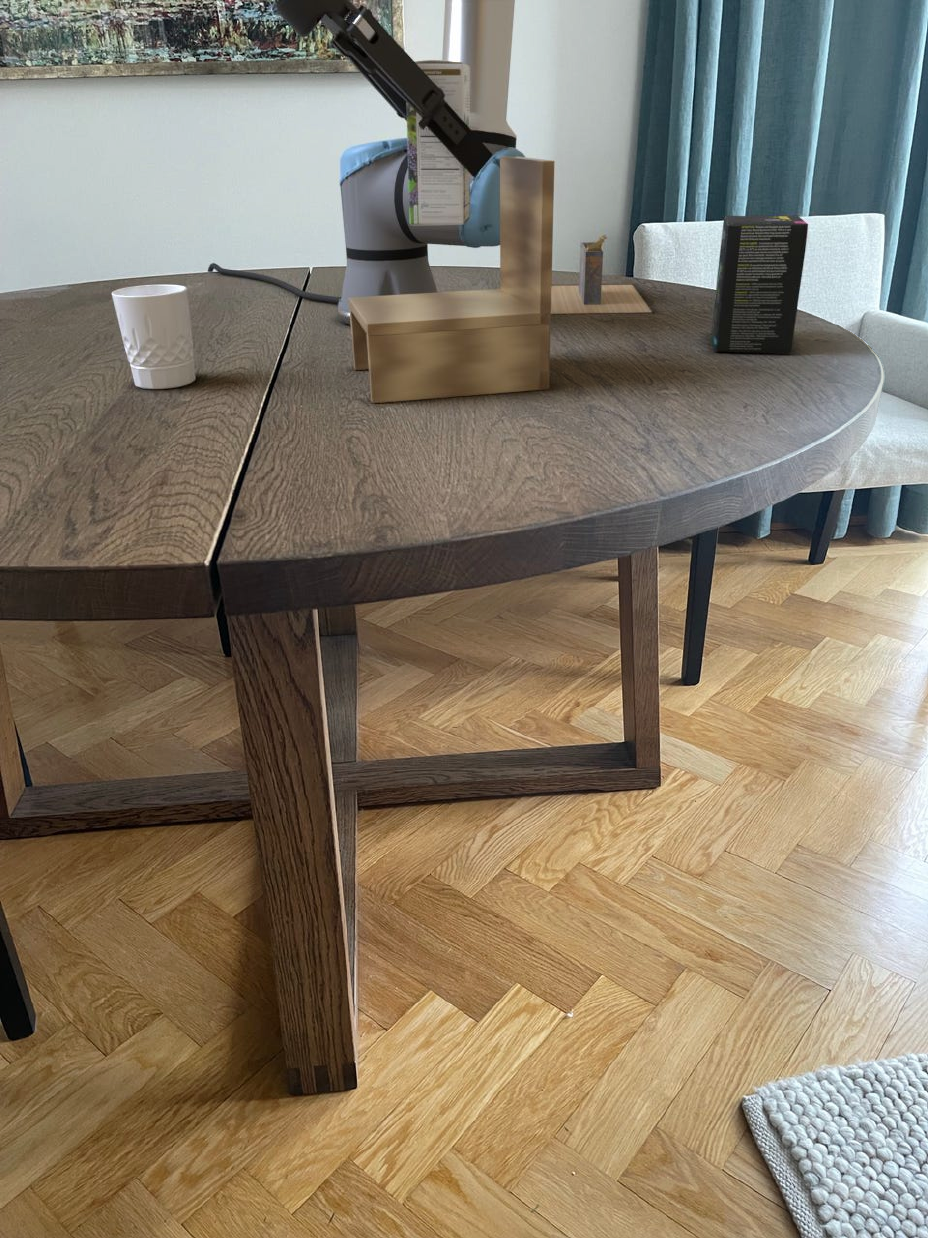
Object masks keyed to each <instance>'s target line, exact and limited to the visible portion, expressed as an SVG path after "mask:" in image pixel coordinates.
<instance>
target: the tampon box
mask: <svg viewBox="0 0 928 1238" xmlns="http://www.w3.org/2000/svg"><path fill="white" fill-rule="evenodd" d="M722 224H723V225H722V232H721V240H720V250H719V260H718V268H717V277H716V286H715V295H714V296H715V297H714V306H713V312H712V324H711V331H710V336H711V337H710V338H711V342H712V347H713V350H714V352H715V353H724V352H726V353H729V352H730V353H751V354H781V355H782V354H785V355H786V354H792V353H793V348H794V347H793V346H794V338H795V329H796V328H795V327H796V320H797V313H798V305H799V299H800V291H801V285H802V278H803V271H804V263H805V256H806V249H807V242H808V230H809V224H808V223H807V222H806V221H805V220H804V219H803V218H802V217H800V216H799V215H761V214H760V215H724V217H723V223H722Z"/></svg>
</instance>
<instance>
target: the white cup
mask: <svg viewBox="0 0 928 1238" xmlns="http://www.w3.org/2000/svg"><path fill="white" fill-rule="evenodd" d="M111 298H112V302H113V305H114V310H115V314H116V318H117V319H116V320H117V322H118V327H119V330H120V335H121V340H122V344H123V347H124V350H125V353H126V359H127V361H128V362H129V366H130V369H131V374H132V378H133V382H134V383H133V384H134V386H136V387H138V388H140V389H147V390H164V389H174V388H175V389H176V388H181V387H184V386H187V385H189V384H192V383H194V382H195V381H196V371H195V361H194V355H195V351H194V343H193V342H194V341H193V340H194V339H193V328H192V320H191V312H190V303H189V294H188V288H187V287H186V286H184V285H179V284H144V285H133V286H127V287H122V288H117V289H116V290H113V291H112V292H111Z"/></svg>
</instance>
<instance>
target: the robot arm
mask: <svg viewBox="0 0 928 1238" xmlns="http://www.w3.org/2000/svg"><path fill="white" fill-rule="evenodd" d="M515 3H516V0H444V14H443V15H444V17H443V18H444V19H443V33H442V34H443V38H442V54H441V55H442V58H441V60H443V61H455V62H463V64H465V65H468V66H469V67H470V128H469V127H468V126H467V125H466V124H465V123H464V122H463V120H462V119H461V118H460V117H459V116H458V115H457V114H456V113H455V111H454V110H453V109H452V108H451V107H450V106H449V105H448V104H447V102H446V101H445V100H444V97H445V94H444V93H443V91H442V89H441V88H438V87H437V86H436V84H435V83H434V82H433V81H432V80H431V79H430V78H429V77H428V76H427V75H426V74H425V73H424V71H423V70H422V69H421V68H420V67H419V66H418V65H417V64H416V63H415V62H416V61H415V60H414V59H413V58H412V57H411V56H410V55H409V54H408V53H407V52H406V51H405V49H403V47H402V46H401V45H400V44H399V43H398V42H397V41H396V40H395V39H394V37H392V36H391V34H390V33H389V32H388V31H387V30H386V29H385V28H384V27H383V26H382V24H381V23H380V22H379V21H378V19H377V18H376V17H375V15H374V14H373V11H372V10H370V9H369V8H367V7H366V6H364V5H363V4H361V5H359V7H356V6H355V5H354V4H353V2H351V1H350V0H276V3H275V5H274V7H275V8H276V10H275V12H276V13H277V14H278V15H279V16H280V17H281V18H282V19H283V20H284V21H285V22H286V24H288V25H289V26H290V28H291V29H292V30H293V31H294V32H295V33H296V34H297V35H298V36H299V37H301V38H307V37H308V36H309V35H310V34H311V33H312V32H313V31H314V29H315V28H316V26H317V25H318V24H319V23H320V22H321V23H322V24H323V26H324V27H326V29H327V30H328V31H329V33H330V34H331V35H332V36H333V38H332V40H331V42H330V43H331V45H332V47H334V49H335V50H336V51H337V52H338V53H339V54H340V55H342V56H344V57H346V58H347V60H348V61H349V62H350V63H351V65H352V66H354V68H355V69H356V70H357V71H358V72H359V73H360V74H361V75H362V76H363V77H364V78H365V79H366V81H368V82H369V84H370V85H371V86H372V87H373V88H374V89H375V90H376V91H377V92H378V93H379V95H380V96H381V97H382V98H383V99H384V100H385V101H386V103H387V104H389V106H390V108H392V109H393V110H394V111H395V113H396V115H397V117H399V118H401V119H404V120H405V121H406V122H407V108H406V102H407V103H408V104H409V105H410V106H411V107H412V108H413V109H414V110H415V111H416V112H417V113H418V114H419V115H420V116H421V118H422V119H421V121H420V122H419V123H418V124H419V127H420V128H421V129H423V130H424V129H425V127H426V126H427V127H428V128H429V130H430V131H431V132H432V133H433V134H434V135H435V136H436V137H437V138H438V139H439V140H440V142H441V143H442V144H443V145H444V146H445V147H446V148H447V149H448V150H449V151H450V152H451V153H452V155H453V156H454V157H455V158H456V159H457V160H458V161H459V162H460V163H461V164H462V165H463V167H464V168H465V169H466V170H467V171H468V172H469V173H470V218H469V220H468V221H467V222H466V223H465V224H463V225H424V226H413V225H410V223H409V184H408V145H407V137H399V138H393V139H386V140H378V141H372V142H365V143H362V144H357V145H353V146H350V147H347V148H346V149H345V150H344V151H343V152H342V154H341V156H340V159H339V170H340V171H339V172H340V174H339V176H340V177H339V178H340V179H339V187H340V198H341V208H342V209H341V210H342V220H343V231H344V242H345V253H346V255H345V256H346V268H345V273H344V279H343V285H342V291H341V296H332V295H325V294H317V293H313V292H308V291H304V290H302V289H300V288H298V287H296V286H294V285H293V284H290V283H288V282H286V281H283V280H281V279H278V278H276V277H272V276H269V275H265V274H261V273H255V272H249V271H244V270H237V269H228V268H223V267H221V266H220V265H219V264H217V263H215V262H211V263H210V264H209V266H208V268H207V272H209V273H213V272H214V270H215V271H216V272H218V273H219V274H223V275H227V276H234V277H242V278H249V279H253V280H258V281H262V282H267V283H270V284H274V285H276V286H279V287H281V288H283V289H285V290H287V291H289V292H291V293H294V294H295V295H297V296H298V297H301V298H304V299H308V300H312V301H317V302H323V303H331V304H337V317H338V320H339V322H341V323H342V324H345V325H349V326H351V324H350V311H349V309H350V308H349V298H353V297H370V296H387V295H404V294H420V293H437V292H438V290H437V286H436V283H435V279H434V274H433V272H432V269H431V266H430V261H429V248H428V247H429V246H428V245H440V246H457V247H467V248H472V249H479V248H482V247H490V248H491V247H492V248H493V247H498V246H499V247H500V156H518V157H526V155H525V154H524V153H523V152H522V151H521V150H519V149H517V139H518V138H517V134H516V133H515V132H514V130H513V129H512V128H511V126H510V125H509V123H508V121H507V114H508V101H509V87H510V74H511V72H510V71H511V59H512V45H513V32H514V20H515V19H514V18H515V17H514V16H515V6H516V5H515Z"/></svg>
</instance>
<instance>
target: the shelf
mask: <svg viewBox="0 0 928 1238" xmlns="http://www.w3.org/2000/svg"><path fill="white" fill-rule="evenodd" d="M554 196H555V160H552V159H551V160H550V159H541V158H533V157H526V156H525V157H518V156H500V245H499V273H500V274H499V287H500V288H489V289H471V290H455V291H439V292H438V291H437V293H420V294H404V295H387V296H370V297H353V298H349V308H350V309H349V311H350V324H351V325H350V335H351V348H352V361H353V362H352V363H353V369H354V371H366V370H368V376H369V390H370V391H369V392H370V401H371V403H372V404H383V403H394V402H395V403H396V402H406V401H418V400H419V401H420V400H432V399H433V400H434V399H443V398H456V397H468V396H469V397H470V396H481V395H492V394H505V393H518V392H530V391H531V392H532V391H543V390H549V389H550V371H551V369H550V368H551V367H550V366H551V329H552V328H551V327H552V326H551V325H552V321H551V320H552V314H551V289H552V286H553V285H552V284H553V283H552V282H553V281H552V280H553V242H554V241H553V240H554V239H553V238H554V205H555V204H554V201H555V200H554V199H555V198H554Z"/></svg>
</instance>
